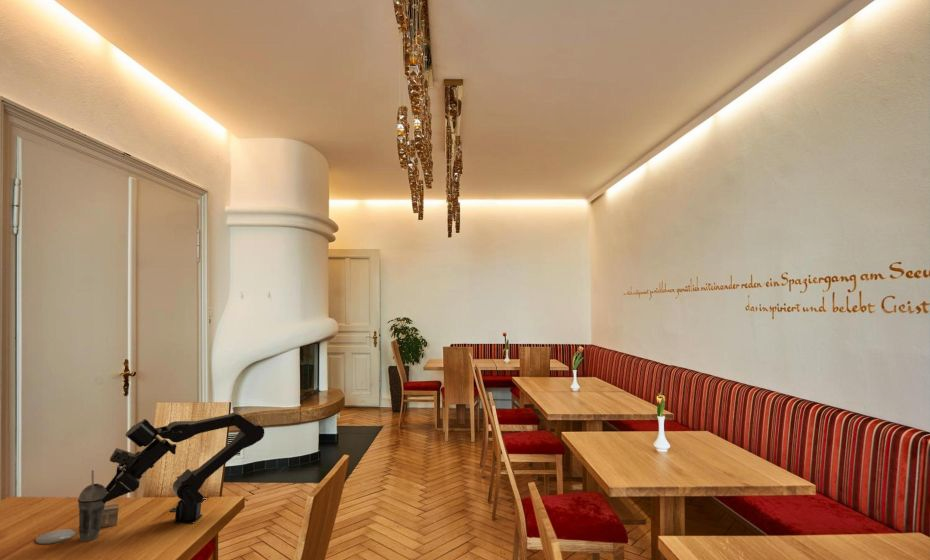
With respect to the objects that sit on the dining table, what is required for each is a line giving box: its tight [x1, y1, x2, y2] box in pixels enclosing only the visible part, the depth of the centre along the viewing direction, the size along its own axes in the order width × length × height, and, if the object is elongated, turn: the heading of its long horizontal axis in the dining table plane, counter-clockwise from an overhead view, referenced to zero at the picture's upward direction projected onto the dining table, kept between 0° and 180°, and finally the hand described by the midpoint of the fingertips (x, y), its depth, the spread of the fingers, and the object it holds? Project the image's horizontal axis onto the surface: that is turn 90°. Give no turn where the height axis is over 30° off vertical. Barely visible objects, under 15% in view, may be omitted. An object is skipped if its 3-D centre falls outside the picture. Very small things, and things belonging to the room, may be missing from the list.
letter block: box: [100, 501, 120, 528], centre depth 159 cm, size 6×6×6 cm
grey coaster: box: [35, 528, 76, 545], centre depth 148 cm, size 9×9×1 cm
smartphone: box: [169, 495, 210, 513], centre depth 178 cm, size 7×1×15 cm
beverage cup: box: [77, 469, 107, 542], centre depth 149 cm, size 7×7×20 cm
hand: (103, 497), depth 151 cm, fingers open, 9 cm apart
